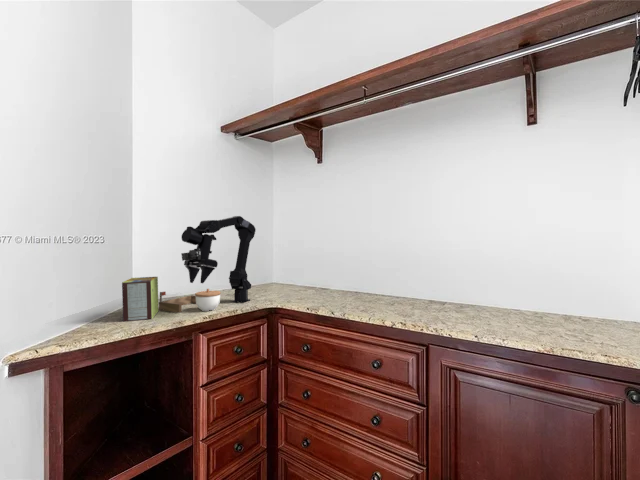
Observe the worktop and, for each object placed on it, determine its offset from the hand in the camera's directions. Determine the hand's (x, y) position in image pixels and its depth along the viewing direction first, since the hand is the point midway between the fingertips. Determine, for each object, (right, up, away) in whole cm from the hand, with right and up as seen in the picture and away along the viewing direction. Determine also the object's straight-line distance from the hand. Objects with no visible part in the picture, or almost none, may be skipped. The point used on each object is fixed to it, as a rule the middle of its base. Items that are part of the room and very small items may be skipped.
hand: (196, 283), depth 140 cm
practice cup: (-9, -13, +12) cm, 19 cm away
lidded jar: (+3, -13, +5) cm, 14 cm away
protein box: (-21, -13, -5) cm, 25 cm away
